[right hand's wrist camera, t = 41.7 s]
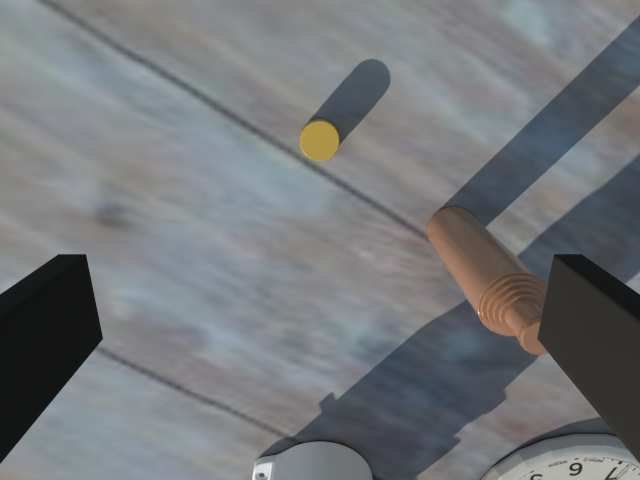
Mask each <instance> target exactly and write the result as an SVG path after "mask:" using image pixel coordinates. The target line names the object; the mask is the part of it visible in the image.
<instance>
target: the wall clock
mask: <svg viewBox="0 0 640 480" xmlns="http://www.w3.org/2000/svg"><path fill="white" fill-rule="evenodd" d="M481 480H640V463H639V462H638V461H637V460H636V459H635V457H634V456H633V455H632V454H631V452H630V451H629V450H628V449H627V448H626V446H625V445H624V444H623V443H622V442H621V440H620V439H619V438H618V437H616V436H612V435H608V434H572V435H566V436H561V437H556V438H551V439H546V440H543V441H540V442H538V443H535V444H533V445H530V446H528V447H525V448H523V449H520V450H518V451H516V452H515V453H513V454H511V455H510V456H508V457H507V458H505V459H504V460H502V461H501V462H499V463H498V464H496V465H495V466H493V467H492V468H491V469H490V470H489V471H488V472H487V473H486V475H485V476H484V477H483V478H482V479H481Z"/></svg>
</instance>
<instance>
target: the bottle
mask: <svg viewBox="0 0 640 480" xmlns="http://www.w3.org/2000/svg"><path fill="white" fill-rule="evenodd" d="M427 237H428V240H429V242H430V243H431V245H432V246H433V248H434V249H435V251H436V253H437V254H438V256H439V257H440V259H441V260H442V262H443V263H444V265H445V266H446V268H447V269H448V271H449V272H450V274H451V275H452V277H453V278H454V280H455V282H456V283H457V285H458V286H459V288H460V289H461V291H462V292H463V294H464V295H465V297H466V298H467V300H468V301H469V303H470V304H471V306H472V307H473V309H474V311H475V312H476V314H477V315H478V317H479V318H480V320H481V321H482V323H483V324H484V325H485V326H486V327H487V328H488V329H490V330H491V331H493V332H495V333H498V334H501V335H505V336H516V337H517V339H518V341H519V343H520V345H521V346H522V347H523V348H524V349H525V350H526V351H528V352H530V353H532V354H536V355H543V354H547V353H548V351H547V350H546V349H545V348H544V347H543V345H542V344H541V343H540V342H539V341H538V339H537V337H538V332H539V327H540V322H541V317H542V312H543V307H544V302H545V297H546V292H547V285H546V284H545V282H544V281H543V280H542V279H541V278H540V277H538V276H537V275H536V274H535V273H534V272H533V271H532V270H531V269H530V268H529V267H528V266H527V265H525V264H524V263H523V262H522V261H521V260H520V259H519V258H518V257H517V256H516V255H515V254H514V253H513V252H511V251H510V250H509V249H508V248H507V247H506V246H505V245H504V244H503V243H502V242H501V241H500V240H498V239H497V238H496V237H495V236H494V235H493V234H492V233H491V232H490V231H489V230H488V229H487V228H485V227H484V226H483V225H482V224H481V223H480V222H479V221H478V220H477V219H476V218H475V217H474V216H472V215H471V214H470V213H469V212H468V211H467V210H465V209H463V208H460V207H447V208H444V209H442V210H440V211H438V212H437V213H436V214H435V215H434V216H433V217H432V218H431V220H430V221H429V224H428V227H427Z"/></svg>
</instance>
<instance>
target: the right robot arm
mask: <svg viewBox="0 0 640 480" xmlns="http://www.w3.org/2000/svg"><path fill="white" fill-rule="evenodd" d="M102 339H103V337H102V332H101V327H100V322H99V317H98V312H97V307H96V302H95V297H94V292H93V287H92V282H91V277H90V272H89V267H88V262H87V257H86V254H59V255H57V256H56V257H54V258H53V259H51V260H50V261H48V262H47V263H45V264H44V265H43V266H41V267H40V268H38V269H37V270H35V271H34V272H32V273H31V274H29V275H28V276H27V277H25V278H24V279H22V280H21V281H19V282H18V283H16V284H15V285H13V286H12V287H11V288H9V289H8V290H6V291H5V292H3V293H2V294H0V463H1V462H2V461H3V460H4V459H5V457H6V456H7V455H8V454H9V452H10V451H11V450H12V449H13V448H14V446H15V445H16V444H17V443H18V442H19V440H20V439H21V438H22V437H23V435H24V434H25V433H26V432H27V431H28V429H29V428H30V427H31V426H32V424H33V423H34V422H35V421H36V420H37V418H38V417H39V416H40V415H41V414H42V412H43V411H44V410H45V409H46V407H47V406H48V405H49V404H50V403H51V401H52V400H53V399H54V398H55V396H56V395H57V394H58V393H59V392H60V390H61V389H62V388H63V387H64V386H65V384H66V383H67V382H68V381H69V379H70V378H71V377H72V376H73V375H74V373H75V372H76V371H77V370H78V369H79V367H80V366H81V365H82V364H83V362H84V361H85V360H86V359H87V358H88V356H89V355H90V354H91V353H92V351H93V350H94V349H95V348H96V347H97V345H98V344H99V343H100V342H101V341H102ZM537 339H538V341H539V342H540V343H541V344H542V345H543V347H544V348H545V349H546V350H547V351H548V353H549V354H550V355H551V356H552V358H553V359H554V360H555V361H556V362H557V364H558V365H559V366H560V367H561V369H562V370H563V371H564V372H565V373H566V375H567V376H568V377H569V378H570V379H571V381H572V382H573V383H574V384H575V386H576V387H577V388H578V389H579V390H580V392H581V393H582V394H583V395H584V396H585V398H586V399H587V400H588V401H589V403H590V404H591V405H592V406H593V407H594V409H595V410H596V411H597V412H598V414H599V415H600V416H601V417H602V418H603V420H604V421H605V422H606V423H607V424H608V426H609V427H610V428H611V429H612V431H613V432H614V433H615V434H616V435H617V437H618V438H619V439H620V440H621V442H622V443H623V444H624V445H625V446H626V448H627V449H628V450H629V451H630V452H631V454H632V455H633V456H634V457H635V459H636V460H637V461H638V462H639V463H640V294H638V293H637V292H635V291H634V290H632V289H631V288H629V287H628V286H627V285H625V284H624V283H622V282H621V281H619V280H618V279H616V278H615V277H613V276H612V275H611V274H609V273H608V272H606V271H605V270H603V269H602V268H600V267H599V266H597V265H596V264H595V263H593V262H592V261H590V260H589V259H587V258H586V257H584V256H583V255H581V254H554V257H553V262H552V267H551V272H550V277H549V282H548V287H547V292H546V297H545V302H544V307H543V312H542V317H541V322H540V327H539V332H538V337H537Z"/></svg>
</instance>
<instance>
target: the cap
mask: <svg viewBox="0 0 640 480" xmlns="http://www.w3.org/2000/svg"><path fill="white" fill-rule="evenodd" d="M339 143H340V141H339V134H338V130H337V129H336V128H335V125H333V124H332V123H331V122H329V121H327V120H326V119H325V120H324V119H321V118H320V119H314V120H313V121H310V122H309V123H308V124H307V125H305V127H304V129H302V133H301V135H300V144H301V148H302V150H303V152H304V153H305V154H306V155H307V156H308V157H309V158H311V159H313V160H317V161H322V160H326V159H329V158H330V157H332V156H333V155H334V154H335V153H336V151H337V149H338V146H339Z"/></svg>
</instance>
